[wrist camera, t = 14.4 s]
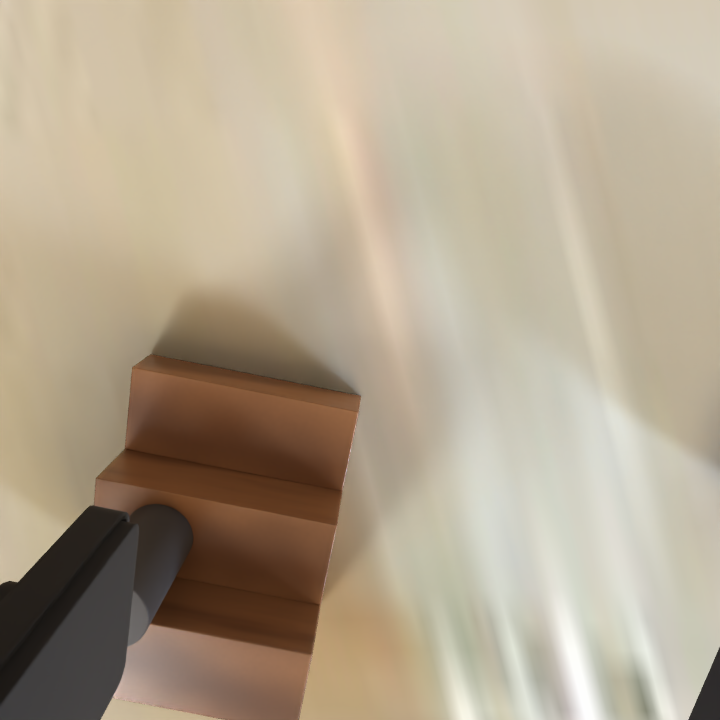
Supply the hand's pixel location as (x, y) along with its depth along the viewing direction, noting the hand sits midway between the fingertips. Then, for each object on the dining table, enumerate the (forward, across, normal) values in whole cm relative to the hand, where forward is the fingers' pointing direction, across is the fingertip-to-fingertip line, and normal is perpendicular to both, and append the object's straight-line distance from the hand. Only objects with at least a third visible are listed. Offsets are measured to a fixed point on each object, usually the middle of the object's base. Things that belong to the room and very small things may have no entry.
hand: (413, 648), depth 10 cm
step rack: (+30, +8, +15) cm, 35 cm away
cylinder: (+23, +11, +15) cm, 30 cm away
